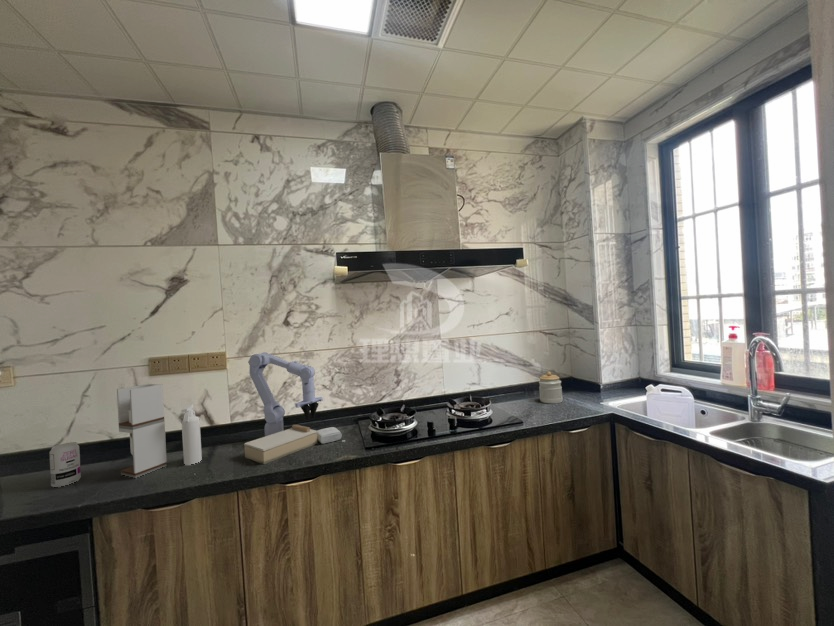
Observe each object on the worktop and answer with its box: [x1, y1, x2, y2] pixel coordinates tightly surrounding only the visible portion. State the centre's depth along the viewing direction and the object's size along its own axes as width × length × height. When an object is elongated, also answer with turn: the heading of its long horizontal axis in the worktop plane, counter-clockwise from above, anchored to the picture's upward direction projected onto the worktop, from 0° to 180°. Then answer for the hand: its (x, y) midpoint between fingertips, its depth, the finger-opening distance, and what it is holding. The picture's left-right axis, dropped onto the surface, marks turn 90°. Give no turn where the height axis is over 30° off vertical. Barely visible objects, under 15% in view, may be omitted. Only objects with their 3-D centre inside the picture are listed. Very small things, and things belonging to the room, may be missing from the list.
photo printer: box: [316, 426, 343, 444], centre depth 167 cm, size 10×4×12 cm
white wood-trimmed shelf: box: [116, 383, 168, 479], centre depth 144 cm, size 11×11×35 cm
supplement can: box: [48, 441, 82, 488], centre depth 136 cm, size 8×8×15 cm
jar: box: [538, 371, 564, 404], centre depth 207 cm, size 13×13×18 cm
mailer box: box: [244, 433, 318, 465], centre depth 156 cm, size 16×26×5 cm, turn 143°
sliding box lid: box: [243, 424, 318, 451], centre depth 156 cm, size 16×26×3 cm, turn 143°
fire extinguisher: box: [181, 403, 203, 466], centre depth 150 cm, size 7×12×25 cm, turn 13°
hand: (310, 418), depth 171 cm, fingers open, 2 cm apart
